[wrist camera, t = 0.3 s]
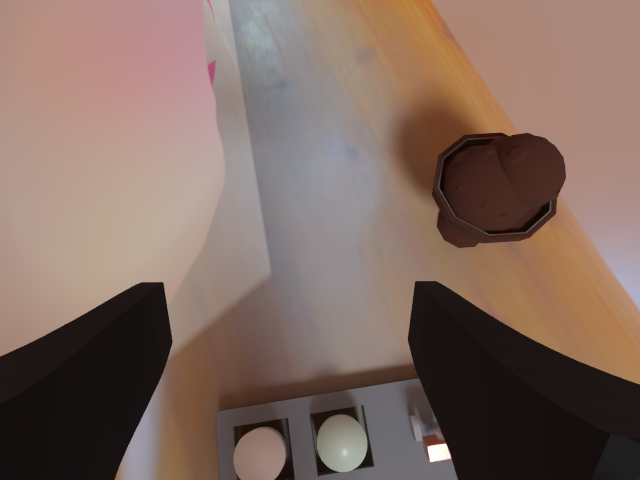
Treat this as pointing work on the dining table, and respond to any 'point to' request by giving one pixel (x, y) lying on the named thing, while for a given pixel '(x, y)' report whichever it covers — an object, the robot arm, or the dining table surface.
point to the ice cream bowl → (496, 187)
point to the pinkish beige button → (260, 454)
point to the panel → (381, 423)
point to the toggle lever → (434, 442)
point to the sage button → (341, 443)
